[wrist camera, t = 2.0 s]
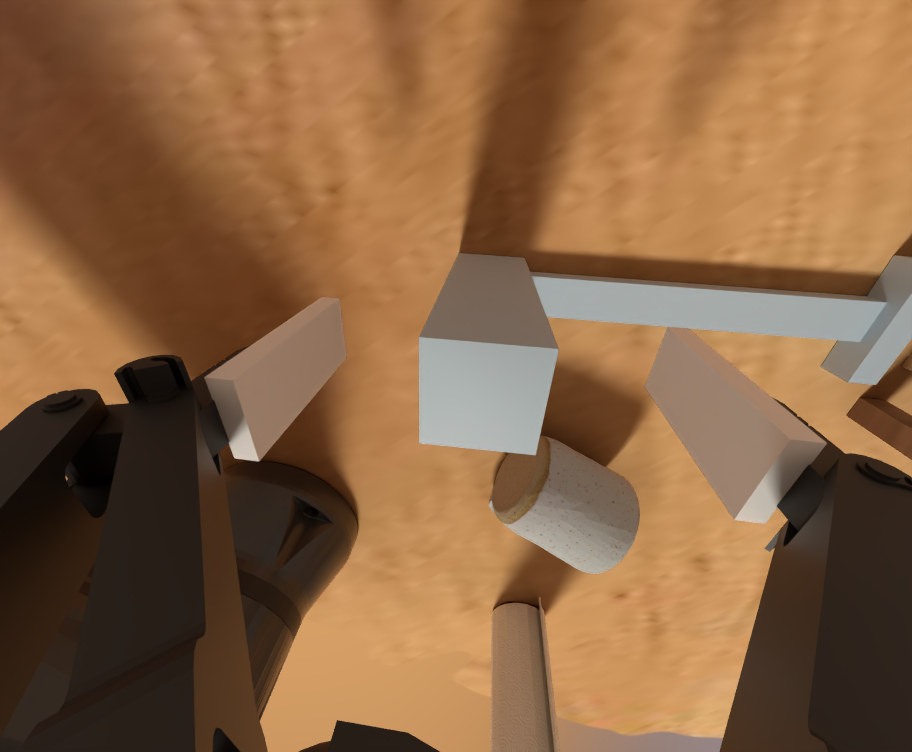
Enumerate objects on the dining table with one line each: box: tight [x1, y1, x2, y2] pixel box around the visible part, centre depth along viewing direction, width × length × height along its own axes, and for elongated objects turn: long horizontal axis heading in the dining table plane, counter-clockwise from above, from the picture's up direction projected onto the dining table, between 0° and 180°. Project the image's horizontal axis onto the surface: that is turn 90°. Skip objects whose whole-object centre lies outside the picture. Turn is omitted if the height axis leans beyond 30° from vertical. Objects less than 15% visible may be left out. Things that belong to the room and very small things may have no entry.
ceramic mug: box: [489, 435, 640, 574], centre depth 26 cm, size 11×8×8 cm
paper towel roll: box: [491, 596, 560, 752], centre depth 31 cm, size 7×6×21 cm
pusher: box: [419, 253, 912, 455], centre depth 16 cm, size 26×7×13 cm, turn 87°
